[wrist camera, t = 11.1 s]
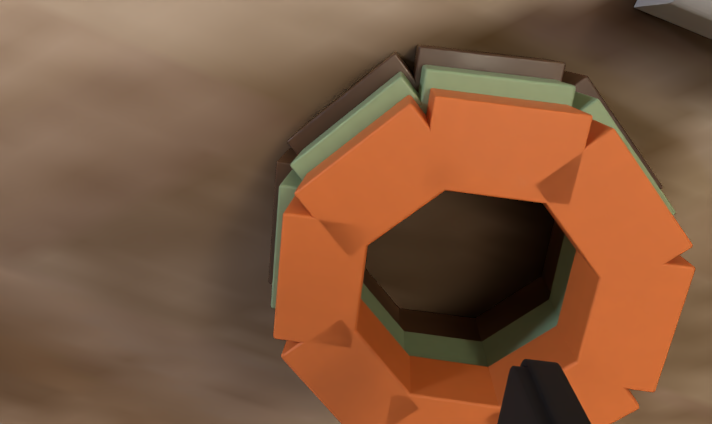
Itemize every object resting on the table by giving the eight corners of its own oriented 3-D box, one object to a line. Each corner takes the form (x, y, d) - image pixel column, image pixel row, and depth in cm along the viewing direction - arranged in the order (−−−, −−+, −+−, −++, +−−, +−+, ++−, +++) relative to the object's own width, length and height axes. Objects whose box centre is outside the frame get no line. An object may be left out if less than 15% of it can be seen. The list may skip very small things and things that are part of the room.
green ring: (276, 373, 20) (263, 408, 18) (300, 50, 17) (287, 52, 15) (590, 416, 20) (611, 457, 18) (683, 94, 16) (720, 102, 14)
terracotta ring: (279, 396, 18) (264, 439, 16) (306, 72, 15) (292, 78, 13) (598, 443, 18) (622, 492, 16) (696, 120, 14) (741, 134, 13)
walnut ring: (274, 350, 22) (261, 383, 20) (297, 30, 19) (284, 30, 16) (582, 392, 22) (602, 430, 20) (670, 73, 18) (706, 78, 16)
